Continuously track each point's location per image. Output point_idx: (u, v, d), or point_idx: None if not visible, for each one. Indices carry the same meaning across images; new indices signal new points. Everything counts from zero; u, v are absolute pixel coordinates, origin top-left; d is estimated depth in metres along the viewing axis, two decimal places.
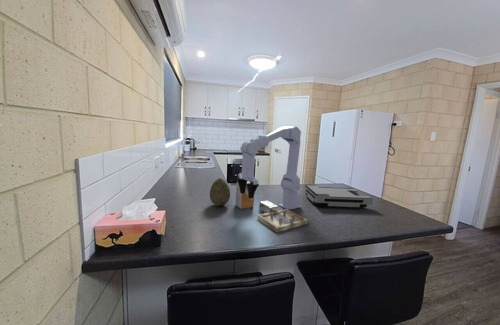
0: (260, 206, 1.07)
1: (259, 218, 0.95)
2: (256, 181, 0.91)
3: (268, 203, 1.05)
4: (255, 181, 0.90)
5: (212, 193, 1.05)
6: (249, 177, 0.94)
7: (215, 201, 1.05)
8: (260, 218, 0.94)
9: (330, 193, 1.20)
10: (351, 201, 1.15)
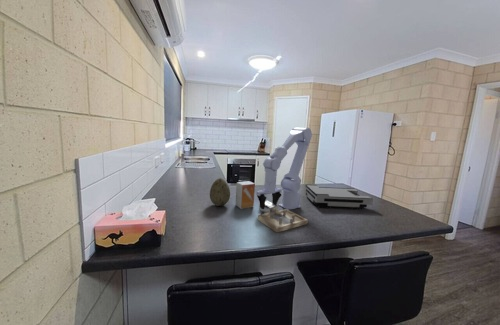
0: None
1: (259, 218, 0.95)
2: (258, 192, 1.00)
3: (268, 203, 1.05)
4: (257, 192, 1.00)
5: (212, 193, 1.05)
6: (264, 189, 1.03)
7: (215, 201, 1.05)
8: (260, 218, 0.94)
9: (329, 193, 1.20)
10: (351, 201, 1.15)
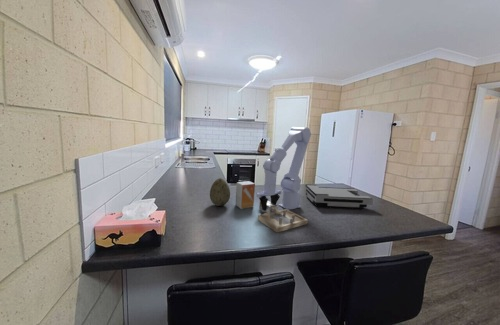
0: (260, 206, 1.07)
1: (259, 218, 0.95)
2: (257, 194, 1.00)
3: (268, 203, 1.05)
4: (257, 194, 1.01)
5: (212, 193, 1.05)
6: (264, 191, 1.03)
7: (215, 201, 1.05)
8: (260, 218, 0.94)
9: (329, 193, 1.20)
10: (351, 201, 1.15)
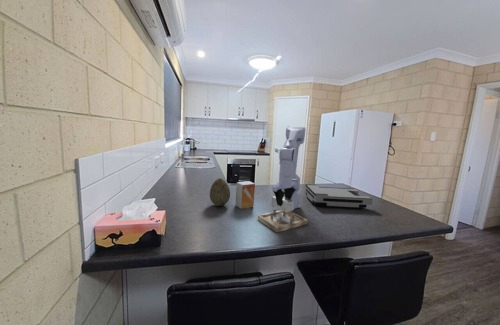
0: (273, 202, 0.95)
1: (259, 218, 0.95)
2: (274, 188, 0.88)
3: (283, 198, 0.94)
4: (273, 187, 0.88)
5: (212, 193, 1.05)
6: (279, 184, 0.91)
7: (215, 201, 1.05)
8: (260, 218, 0.94)
9: (329, 193, 1.20)
10: (350, 201, 1.14)
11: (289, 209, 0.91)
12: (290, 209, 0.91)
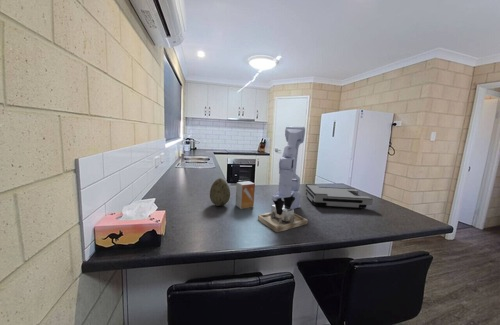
0: (272, 210, 0.96)
1: (259, 218, 0.95)
2: (273, 197, 0.88)
3: None
4: (273, 197, 0.89)
5: (212, 193, 1.05)
6: (279, 193, 0.92)
7: (215, 201, 1.05)
8: (260, 218, 0.94)
9: (329, 193, 1.20)
10: (350, 201, 1.14)
11: (289, 218, 0.91)
12: (290, 218, 0.92)
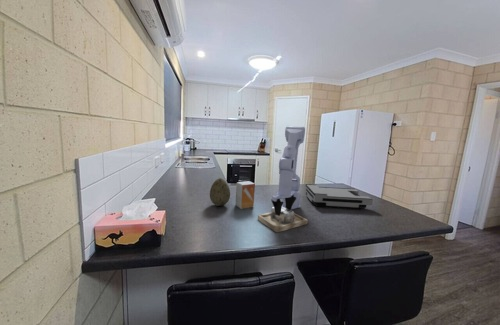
0: (272, 212, 0.96)
1: (259, 218, 0.95)
2: (273, 198, 0.88)
3: (282, 209, 0.95)
4: (273, 197, 0.89)
5: (212, 193, 1.05)
6: (279, 193, 0.92)
7: (215, 201, 1.05)
8: (260, 218, 0.94)
9: (329, 193, 1.21)
10: (350, 201, 1.14)
11: (288, 220, 0.92)
12: (289, 220, 0.92)
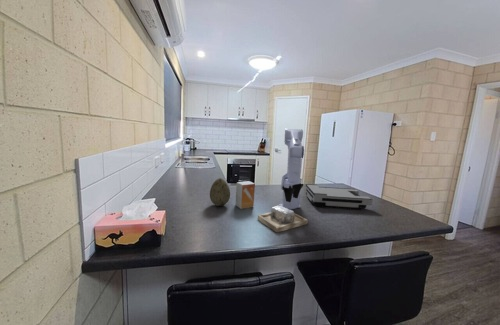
0: (272, 212, 0.96)
1: (259, 218, 0.95)
2: (286, 184, 0.91)
3: (282, 209, 0.95)
4: (285, 184, 0.91)
5: (212, 193, 1.05)
6: (289, 180, 0.95)
7: (215, 201, 1.05)
8: (260, 218, 0.94)
9: (328, 193, 1.21)
10: (349, 201, 1.14)
11: (288, 220, 0.92)
12: (289, 220, 0.92)
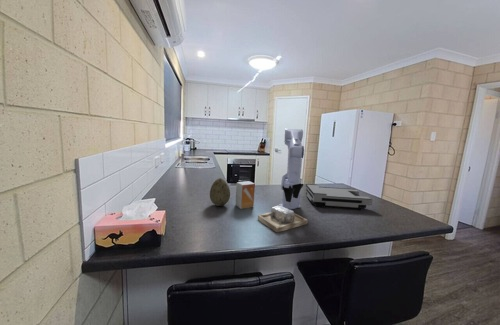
0: (272, 212, 0.96)
1: (259, 218, 0.95)
2: (286, 184, 0.91)
3: (282, 209, 0.95)
4: (285, 184, 0.91)
5: (212, 193, 1.05)
6: (289, 180, 0.95)
7: (215, 201, 1.05)
8: (260, 218, 0.94)
9: (328, 193, 1.21)
10: (349, 201, 1.14)
11: (288, 220, 0.92)
12: (289, 220, 0.92)
